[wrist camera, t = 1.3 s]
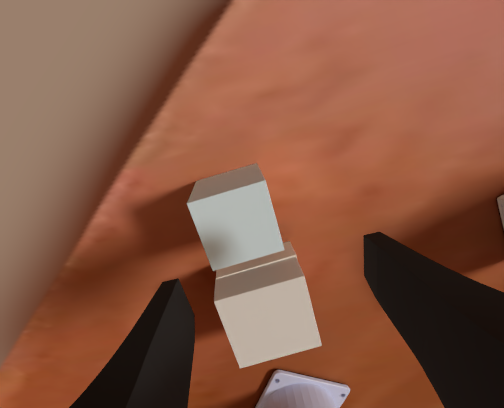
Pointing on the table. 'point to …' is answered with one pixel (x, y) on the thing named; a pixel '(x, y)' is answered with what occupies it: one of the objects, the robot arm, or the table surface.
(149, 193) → the table surface
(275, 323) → the beige block
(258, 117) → the table surface
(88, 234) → the table surface
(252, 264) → the cream slab
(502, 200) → the light bulb box
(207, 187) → the pale blue block
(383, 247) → the robot arm
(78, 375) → the table surface
